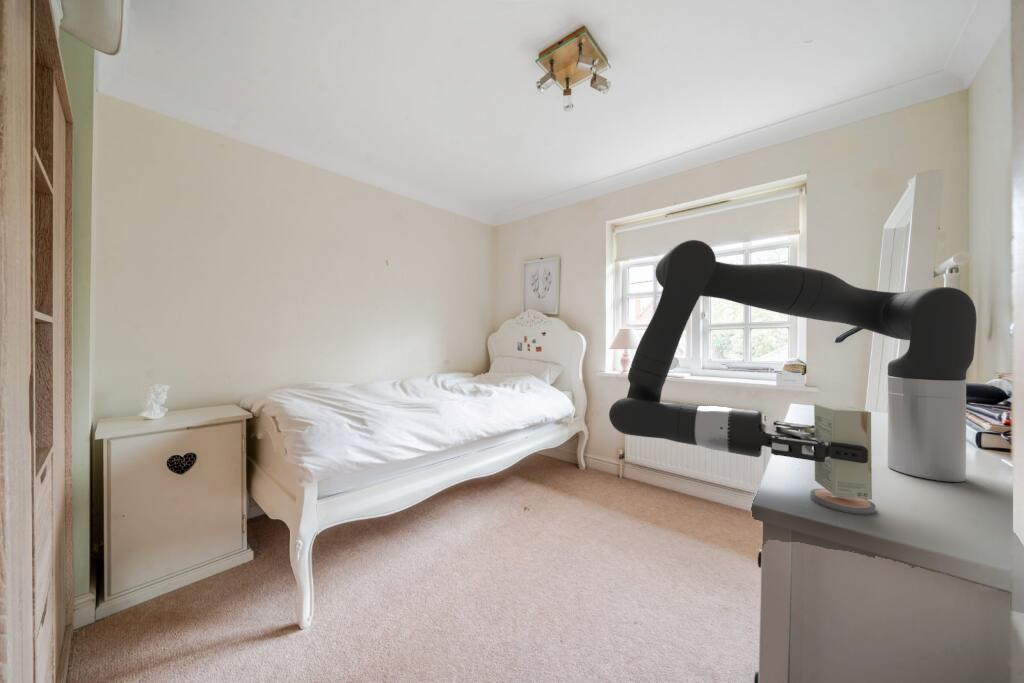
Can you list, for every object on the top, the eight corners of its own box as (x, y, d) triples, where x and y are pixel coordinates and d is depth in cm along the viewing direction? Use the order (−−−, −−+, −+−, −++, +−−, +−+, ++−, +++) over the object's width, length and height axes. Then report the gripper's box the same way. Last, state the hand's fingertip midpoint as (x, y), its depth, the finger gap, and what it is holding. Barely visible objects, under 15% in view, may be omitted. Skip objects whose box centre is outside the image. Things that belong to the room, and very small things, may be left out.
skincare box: (873, 501, 48) (874, 412, 48) (833, 496, 50) (834, 409, 49) (847, 483, 54) (848, 404, 54) (812, 479, 56) (813, 402, 56)
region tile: (805, 489, 57) (805, 484, 57) (864, 499, 53) (864, 494, 53) (816, 507, 50) (816, 501, 50) (884, 519, 47) (884, 513, 47)
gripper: (722, 414, 55) (873, 432, 45) (732, 402, 66) (854, 414, 56) (722, 462, 55) (872, 491, 45) (732, 442, 66) (854, 461, 56)
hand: (862, 448), depth 50 cm, fingers closed on skincare box, 7 cm apart
